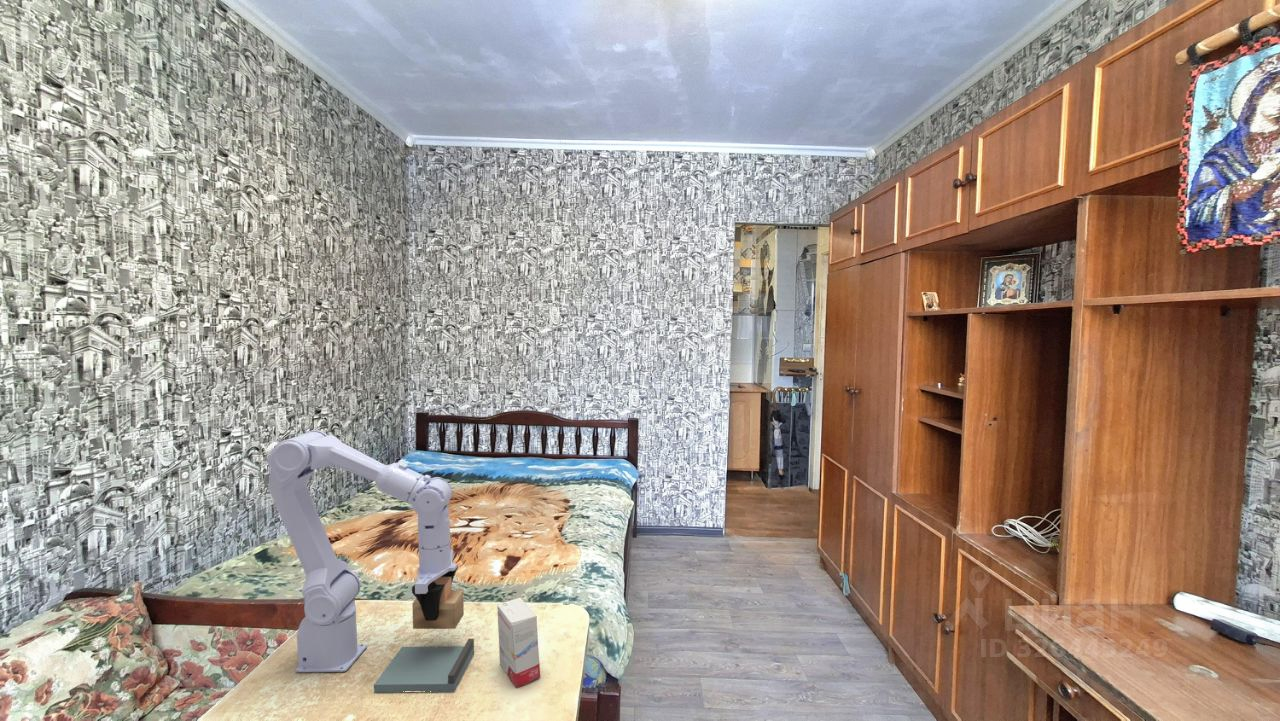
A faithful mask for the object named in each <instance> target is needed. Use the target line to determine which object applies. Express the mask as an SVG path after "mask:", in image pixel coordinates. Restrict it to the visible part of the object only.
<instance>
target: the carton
mask: <svg viewBox="0 0 1280 721" xmlns="http://www.w3.org/2000/svg"><path fill="white" fill-rule="evenodd" d="M434 583H436V585H443V584H445V586H444V588H443V591H442V594H441V598H440V602H445V601H446V600H447V598H448V596H449V595H450V593H451V592H452V590H453V589H452V586H453V585H452V584H453V582H451V577H439V578H438V579H436V580H435V581H434Z"/></svg>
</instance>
